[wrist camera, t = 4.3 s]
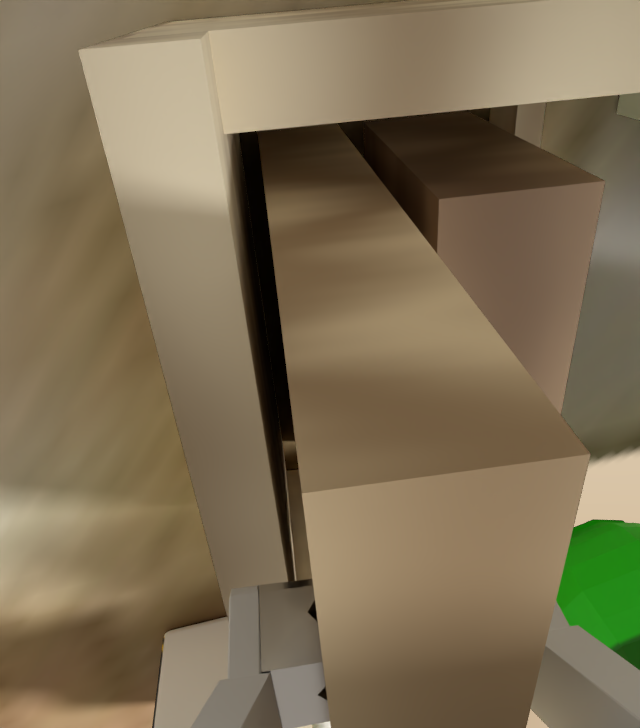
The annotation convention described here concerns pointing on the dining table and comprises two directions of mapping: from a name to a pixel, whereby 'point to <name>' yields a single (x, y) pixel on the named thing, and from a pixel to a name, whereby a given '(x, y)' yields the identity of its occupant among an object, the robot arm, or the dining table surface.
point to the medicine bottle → (192, 672)
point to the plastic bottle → (604, 584)
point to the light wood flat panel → (411, 457)
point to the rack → (231, 207)
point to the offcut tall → (498, 226)
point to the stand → (629, 105)
